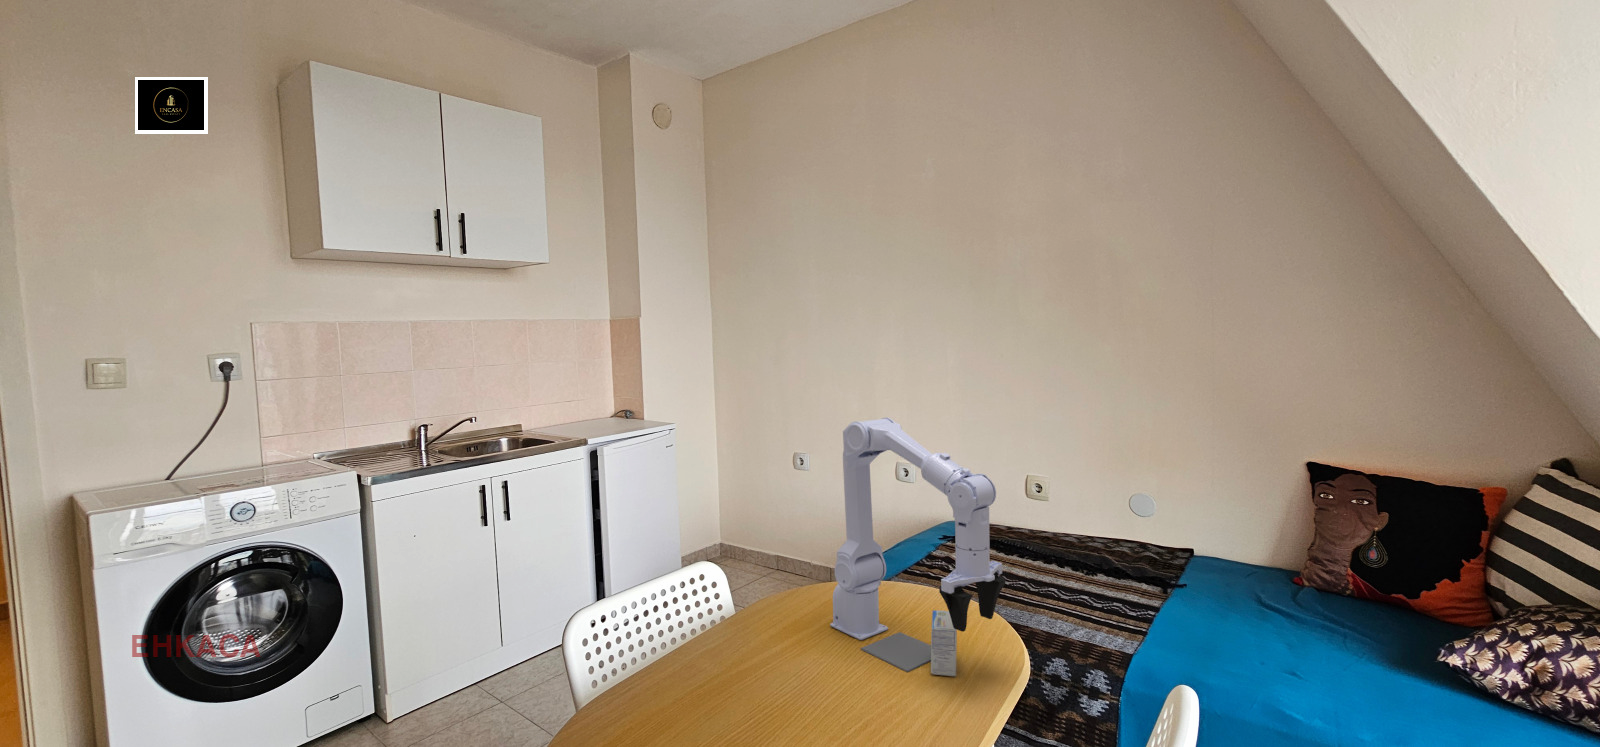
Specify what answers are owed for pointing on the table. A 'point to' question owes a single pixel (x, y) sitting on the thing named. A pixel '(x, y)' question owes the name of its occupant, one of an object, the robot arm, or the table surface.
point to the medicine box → (943, 644)
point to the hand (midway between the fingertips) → (973, 623)
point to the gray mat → (901, 651)
